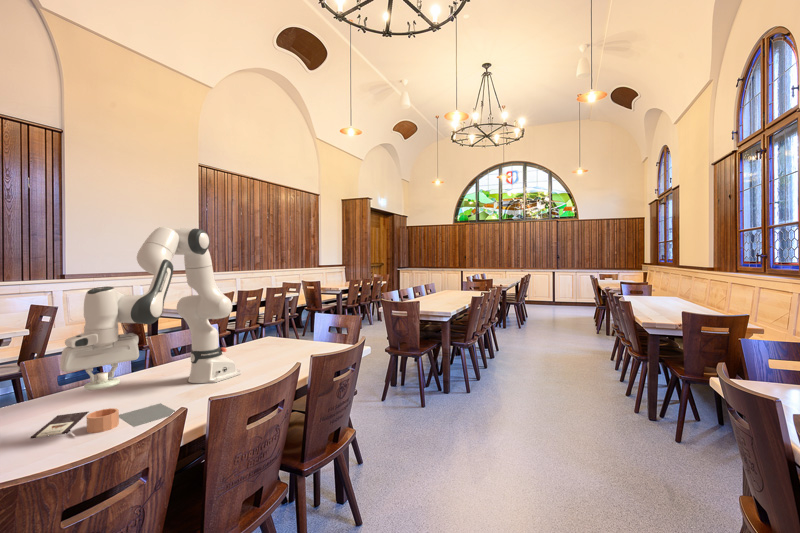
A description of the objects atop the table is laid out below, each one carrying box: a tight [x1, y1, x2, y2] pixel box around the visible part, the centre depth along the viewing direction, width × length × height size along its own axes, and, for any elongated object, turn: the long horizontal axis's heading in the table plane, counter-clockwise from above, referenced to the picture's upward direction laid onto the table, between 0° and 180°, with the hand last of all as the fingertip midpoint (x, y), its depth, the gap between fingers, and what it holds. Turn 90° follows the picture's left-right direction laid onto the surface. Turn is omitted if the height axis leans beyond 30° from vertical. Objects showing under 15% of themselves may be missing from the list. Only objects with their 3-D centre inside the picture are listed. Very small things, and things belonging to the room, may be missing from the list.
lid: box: [83, 371, 121, 391], centre depth 123 cm, size 9×9×4 cm
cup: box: [86, 407, 120, 434], centre depth 123 cm, size 8×8×5 cm
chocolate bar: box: [30, 411, 89, 439], centre depth 127 cm, size 9×1×18 cm
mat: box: [119, 403, 176, 428], centre depth 134 cm, size 14×16×1 cm
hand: (102, 379), depth 123 cm, fingers closed on lid, 3 cm apart
